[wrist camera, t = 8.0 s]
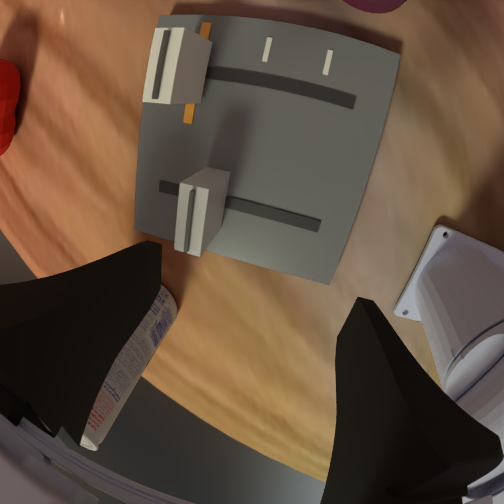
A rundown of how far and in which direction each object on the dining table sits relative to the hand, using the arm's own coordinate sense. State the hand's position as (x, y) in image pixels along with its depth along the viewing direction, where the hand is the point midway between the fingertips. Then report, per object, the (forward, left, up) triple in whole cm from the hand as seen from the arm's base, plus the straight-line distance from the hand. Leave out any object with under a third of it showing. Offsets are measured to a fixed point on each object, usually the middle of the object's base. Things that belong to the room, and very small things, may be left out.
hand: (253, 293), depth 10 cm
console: (+3, -3, -10) cm, 11 cm away
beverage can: (+9, +12, -11) cm, 19 cm away
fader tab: (+7, -7, -9) cm, 14 cm away
